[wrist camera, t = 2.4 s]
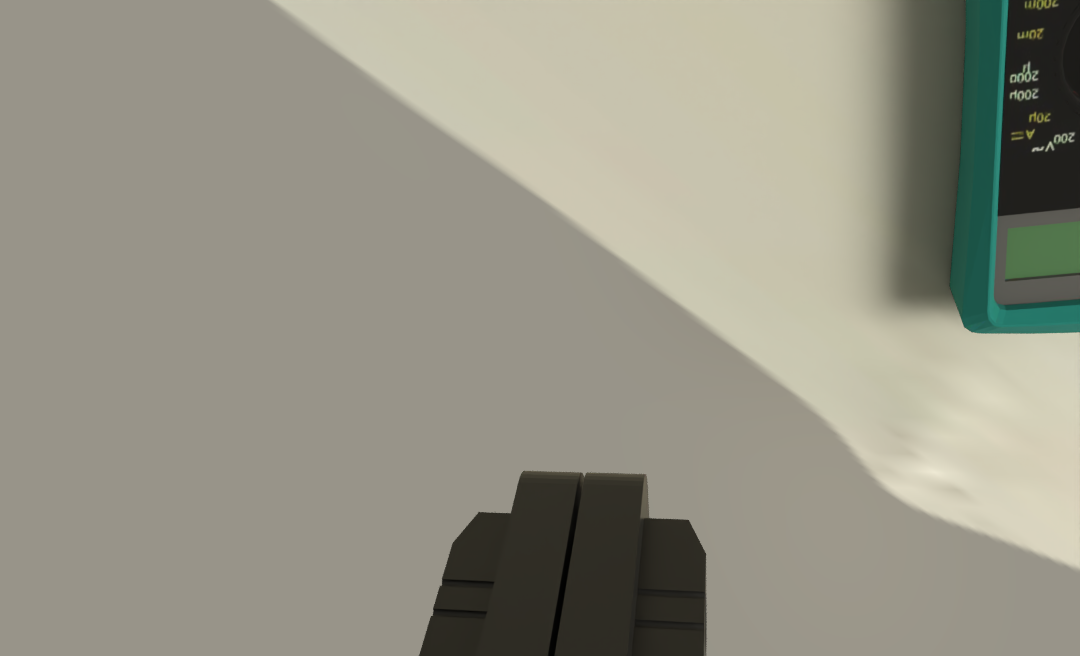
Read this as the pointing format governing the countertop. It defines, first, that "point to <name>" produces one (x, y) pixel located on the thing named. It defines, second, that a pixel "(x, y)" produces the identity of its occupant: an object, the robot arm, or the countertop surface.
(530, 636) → the robot arm
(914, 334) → the countertop surface
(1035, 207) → the digital multimeter
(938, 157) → the countertop surface
